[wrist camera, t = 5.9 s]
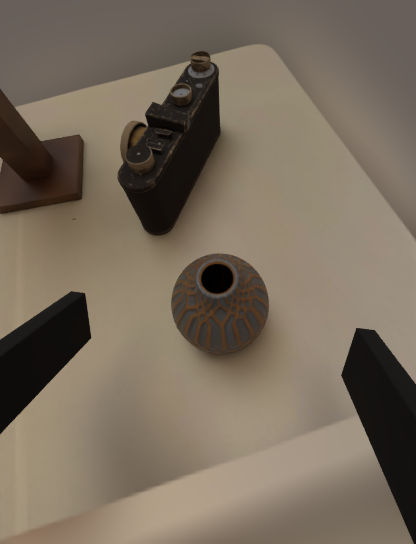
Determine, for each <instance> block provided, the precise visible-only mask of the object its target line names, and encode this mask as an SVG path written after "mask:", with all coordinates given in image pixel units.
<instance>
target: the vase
mask: <svg viewBox="0 0 416 544" xmlns="http://www.w3.org/2000/svg"><path fill="white" fill-rule="evenodd" d="M171 307H172V314H173V318H174V321H175V324H176V326H177V328H178V329H179V331H180V333H181V334H182V335H183V337H184V338H185V339H186V340H187V341H188V342H190V343H191V344H192V345H194V346H195V347H197V348H199V349H201V350H203V351H206V352H209V353H214V354H227V353H232V352H235V351H238V350H240V349H242V348H244V347H246V346H247V345H249V344H250V343H251V342H252V341H253V340H254V339H255V338H256V337H257V336H258V335H259V334H260V332H261V330H262V329H263V327H264V325H265V322H266V319H267V316H268V309H269V300H268V293H267V290H266V287H265V284H264V282H263V280H262V278H261V277H260V275H259V274H258V272H257V271H256V270H255V269H254V268H253V267H252V266H251V265H250V264H249V263H247V262H246V261H244V260H242V259H240V258H238V257H236V256H233V255H228V254H211V255H206V256H203V257H201V258H199V259H197V260H195V261H194V262H192V263H191V264H189V265H188V266H187V267H186V268H185V269H184V270H183V272H182V273H181V274H180V276H179V277H178V279H177V281H176V283H175V286H174V289H173V293H172V301H171Z"/></svg>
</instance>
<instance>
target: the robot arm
mask: <svg viewBox="0 0 416 544" xmlns="http://www.w3.org/2000/svg"><path fill="white" fill-rule="evenodd" d="M90 339H91V333H90V325H89V318H88V311H87V304H86V296H85V293H80V292H72V291H71V292H70V293H68V294H67V295H65V296H64V297H62V298H61V299H59V300H58V301H56V302H55V303H53V304H52V305H51V306H49V307H48V308H46V309H45V310H43V311H42V312H40V313H39V314H37V315H36V316H34V317H33V318H31V319H30V320H29V321H27V322H26V323H24V324H23V325H21V326H20V327H18V328H17V329H15V330H14V331H12V332H11V333H9V334H8V335H7V336H5V337H4V338H2V339H1V340H0V434H1V433H2V432H3V431H4V430H5V428H6V427H7V426H8V425H9V424H10V423H11V422H12V421H13V420H14V419H15V418H16V417H17V416H18V415H19V414H20V413H21V412H22V411H23V409H24V408H25V407H26V406H27V405H28V404H29V403H30V402H31V401H32V400H33V399H34V398H35V397H36V396H37V395H38V394H39V393H40V391H41V390H42V389H43V388H44V387H45V386H46V385H47V384H48V383H49V382H50V381H51V380H52V379H53V378H54V377H55V376H56V375H57V374H58V372H59V371H60V370H61V369H62V368H63V367H64V366H65V365H66V364H67V363H68V362H69V361H70V360H71V359H72V358H73V357H74V356H75V355H76V353H77V352H78V351H79V350H80V349H81V348H82V347H83V346H84V345H85V344H86V343H87V342H88V341H89V340H90ZM341 376H342V378H343V381H344V383H345V385H346V388H347V390H348V392H349V394H350V397H351V399H352V401H353V404H354V406H355V408H356V411H357V413H358V415H359V418H360V420H361V422H362V425H363V427H364V429H365V432H366V434H367V436H368V438H369V441H370V443H371V445H372V448H373V450H374V452H375V455H376V457H377V459H378V462H379V464H380V466H381V468H382V471H383V473H384V475H385V478H386V480H387V482H388V485H389V487H390V489H391V492H392V494H393V496H394V499H395V501H396V503H397V505H398V508H399V510H400V512H401V515H402V517H403V519H404V522H405V524H406V526H407V529H408V531H409V533H410V536H411V538H412V540H413V542H414V544H416V384H415V383H414V381H413V380H412V379H411V377H410V376H409V375H408V373H407V372H406V371H405V369H404V368H403V367H402V366H401V364H400V363H399V362H398V360H397V359H396V358H395V356H394V355H393V354H392V352H391V351H390V350H389V348H388V347H387V346H386V344H385V343H384V342H383V340H382V339H381V338H380V337H379V335H378V334H377V333H376V331H375V330H369V329H361V328H356V331H355V334H354V337H353V340H352V344H351V347H350V350H349V353H348V356H347V359H346V362H345V365H344V368H343V372H342V375H341Z"/></svg>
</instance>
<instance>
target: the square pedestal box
mask: <svg viewBox="0 0 416 544" xmlns="http://www.w3.org/2000/svg"><path fill="white" fill-rule="evenodd" d="M0 157H1V158H2V159H3V162H2V167H1V172H0V213H6V212H11V211H17V210H22V209H28V208H33V207H39V206H44V205H50V204H55V203H61V202H66V201H72V200H77V199H81V196H82V166H83V140H82V138H81V136H80V135H74V136H68V137H62V138H57V139H51V140H46V141H40V140H39V139H38V137H37V136H36V135H35V133H34V132H33V131H32V129H31V128H30V127H29V126H28V124H27V123H26V122H25V120H24V119H23V118H22V117H21V115H20V114H19V113H18V111H17V110H16V109H15V107H14V106H13V105H12V104H11V102H10V101H9V100H8V98H7V97H6V96H5V94H4V93H3V92H2V91H1V89H0Z"/></svg>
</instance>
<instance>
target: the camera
mask: <svg viewBox="0 0 416 544" xmlns="http://www.w3.org/2000/svg"><path fill="white" fill-rule="evenodd" d="M190 61H191V64H189V65H188V66H187V67H186V69H185V70H184V72H183V73H182V75H181V76H180V78H179V79H178V81H177V82H176V84H175V85H174V86H173V87H172V88H171V90H170V93H169V95H168V96H167V98H166V99H165V101H164V102H163V104H162V105H160V104H157V103H154V102H152V104H151V105H150V107H149V108H148V110H147V111H146V113H145V116H146V119H147V123H148V127H147V126H146V125H145V124H144V123H142V122H138V121H131V122H130V123H128V124H127V125H126V127H125V129H124V131H123V133H122V137H121V143H120V150H121V156H122V159H123V162H124V163H123V165H122V166H121V168H120V169H119V171H118V175H117V176H118V181H119V183H120V185H121V186H122V187H123V189H124V191H125V193H126V195H127V197H128V198H129V200H130V202H131V204H132V206H133V208H134V210H135V211H136V213H137V215H138V217H139V219H140V221H141V223H142V226H143V227H144V229H145V230H146V231H147V232H148V233H150V234H153V235H162V234H165V233H167V232H169V231H170V230H171V229H172V228H173V226H174V224H175V222H176V220H177V218H178V216H179V214H180V212H181V210H182V208H183V206H184V204H185V202H186V200H187V198H188V196H189V194H190V192H191V190H192V188H193V186H194V184H195V182H196V180H197V178H198V176H199V174H200V172H201V170H202V168H203V166H204V164H205V162H206V161H207V159H208V157H209V155H210V153H211V151H212V149H213V147H214V145H215V143H216V141H217V139H218V137H219V135H220V114H219V81H218V76H219V69H218V67H217V65H216V64H214V63H212V62H211V61H210V54H209V53H207V52H204V51H199V52H196V53H194V54H192V55H191V57H190Z"/></svg>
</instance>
